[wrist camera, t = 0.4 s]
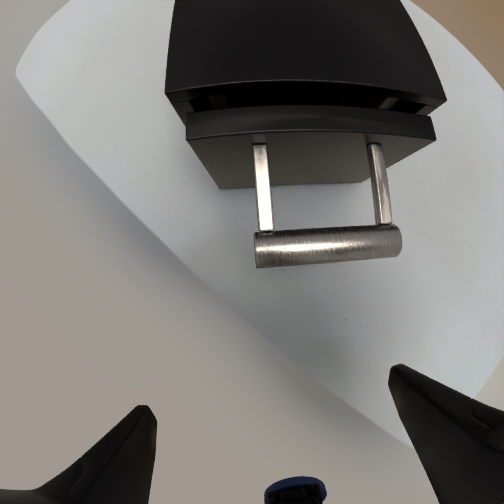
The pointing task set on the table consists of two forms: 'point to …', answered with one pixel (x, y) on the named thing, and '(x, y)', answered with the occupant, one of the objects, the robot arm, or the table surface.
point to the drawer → (309, 162)
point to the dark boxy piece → (298, 51)
